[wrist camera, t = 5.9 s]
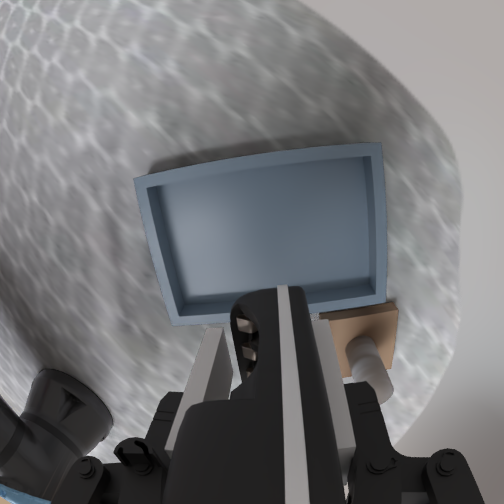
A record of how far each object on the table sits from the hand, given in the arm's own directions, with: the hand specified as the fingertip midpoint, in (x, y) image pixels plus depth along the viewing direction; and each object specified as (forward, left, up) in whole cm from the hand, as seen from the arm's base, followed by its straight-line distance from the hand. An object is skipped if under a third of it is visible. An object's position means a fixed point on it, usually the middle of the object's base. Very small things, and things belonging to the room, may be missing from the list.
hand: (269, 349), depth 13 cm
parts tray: (0, +1, -15) cm, 15 cm away
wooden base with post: (+8, -12, -15) cm, 21 cm away
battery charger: (0, 0, -1) cm, 1 cm away
